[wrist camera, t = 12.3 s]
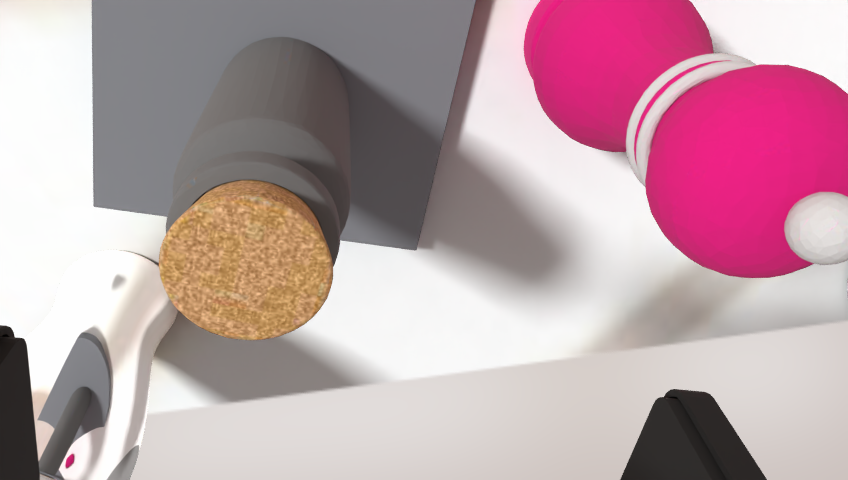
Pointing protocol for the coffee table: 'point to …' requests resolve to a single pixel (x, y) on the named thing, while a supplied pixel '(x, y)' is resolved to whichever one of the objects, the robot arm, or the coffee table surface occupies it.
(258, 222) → the bottle
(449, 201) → the coffee table surface
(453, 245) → the coffee table surface
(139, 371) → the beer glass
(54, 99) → the coffee table surface
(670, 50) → the pepper mill
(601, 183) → the coffee table surface
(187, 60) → the mat
